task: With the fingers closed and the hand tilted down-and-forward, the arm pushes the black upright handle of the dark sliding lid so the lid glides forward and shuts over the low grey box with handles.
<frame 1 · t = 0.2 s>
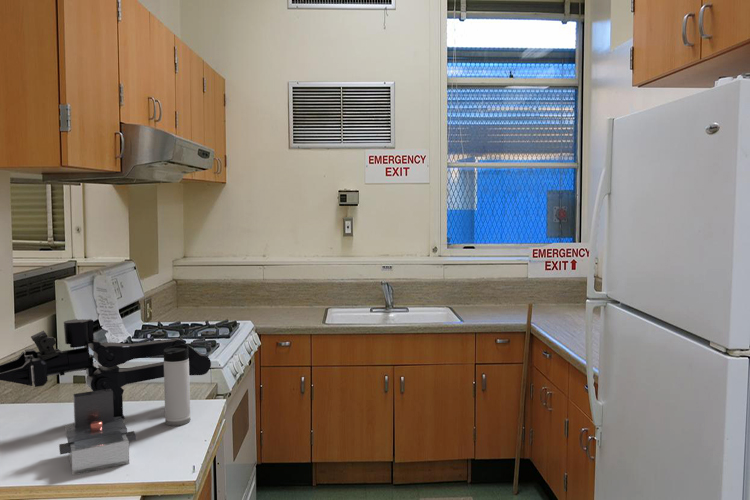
lid: (95, 413, 132), point 9 cm above the counter, slide at 5.0 cm
grey box with handles: (99, 461, 128), on the counter
travel mug: (178, 422, 153), on the counter
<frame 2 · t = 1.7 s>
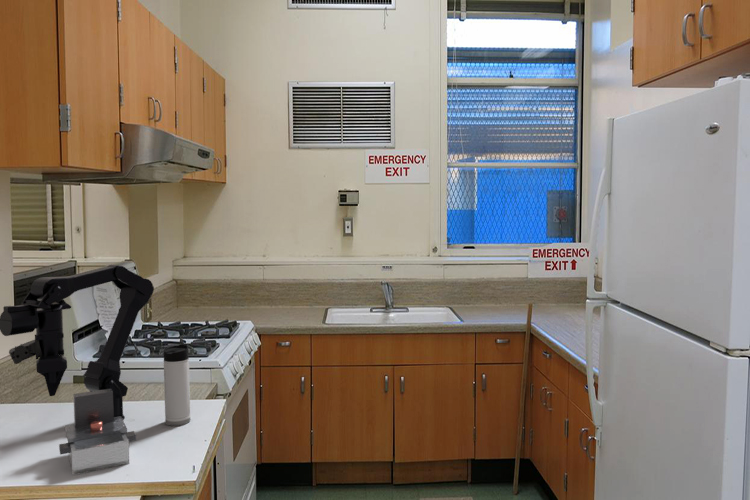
hand: (51, 392, 143), 11 cm above the counter, tool pointing down, fingers open, 6 cm apart
nothing on the counter moved.
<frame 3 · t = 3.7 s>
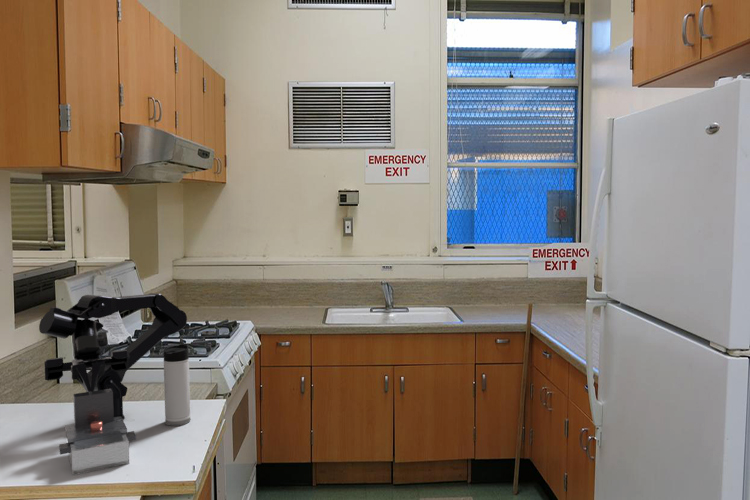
hand: (91, 394, 139), 11 cm above the counter, tool tilted 45°, fingers closed
nothing on the counter moved.
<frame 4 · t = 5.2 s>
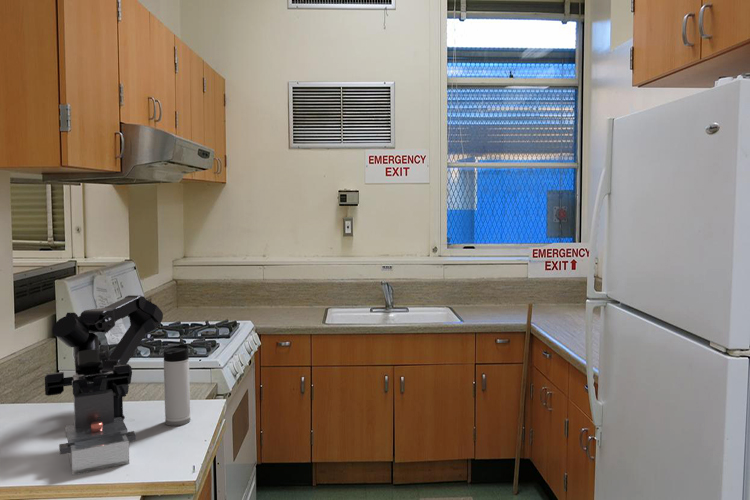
hand: (92, 410, 136), 9 cm above the counter, tool tilted 45°, fingers closed, pressing on lid
lid: (95, 414, 131), point 9 cm above the counter, slide at 4.4 cm, touching gripper
everything else where it was.
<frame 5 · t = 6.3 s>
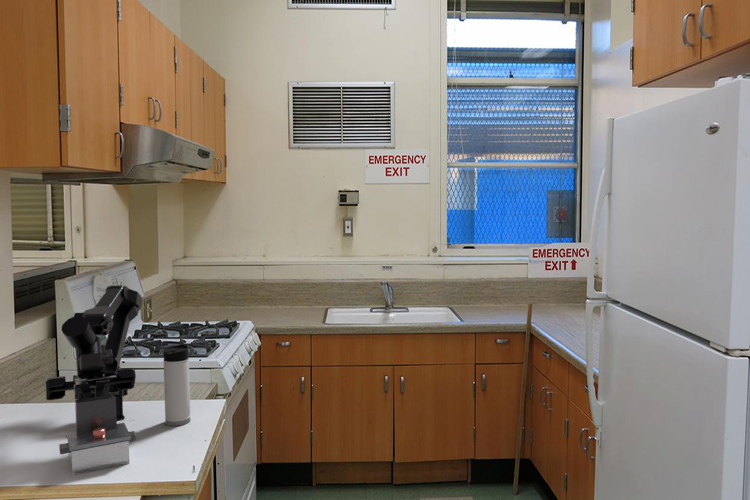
hand: (94, 416, 132), 9 cm above the counter, tool tilted 45°, fingers closed, pressing on lid
lid: (97, 420, 127), point 9 cm above the counter, slide at -0.3 cm, touching gripper
everything else where it was.
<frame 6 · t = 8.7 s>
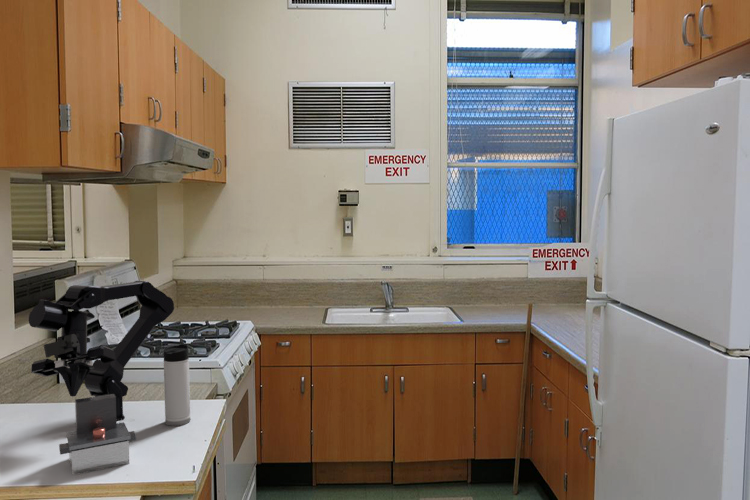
hand: (73, 396, 139), 11 cm above the counter, tool tilted 30°, fingers closed
lid: (97, 419, 128), point 9 cm above the counter, slide at 0.0 cm
everything else where it was.
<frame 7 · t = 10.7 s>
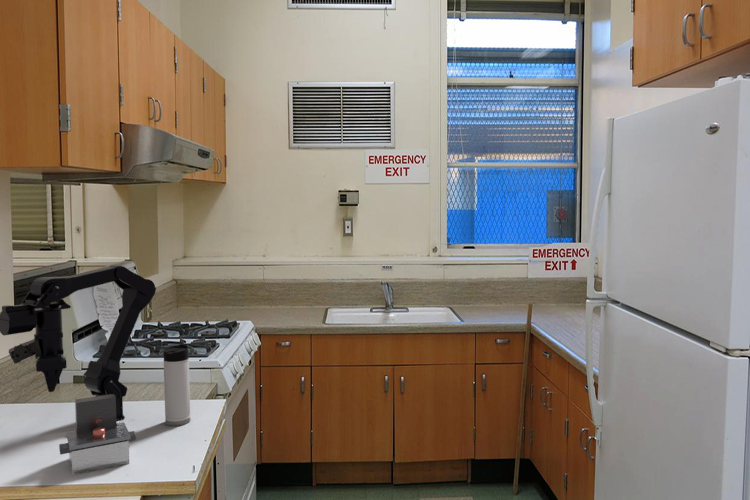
hand: (51, 391, 143), 11 cm above the counter, tool pointing down, fingers closed
nothing on the counter moved.
at the end: lid slide at 0.0 cm; travel mug moved 0.2 cm from its start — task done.
